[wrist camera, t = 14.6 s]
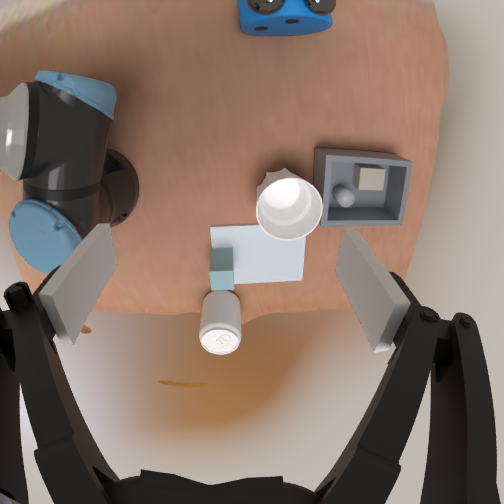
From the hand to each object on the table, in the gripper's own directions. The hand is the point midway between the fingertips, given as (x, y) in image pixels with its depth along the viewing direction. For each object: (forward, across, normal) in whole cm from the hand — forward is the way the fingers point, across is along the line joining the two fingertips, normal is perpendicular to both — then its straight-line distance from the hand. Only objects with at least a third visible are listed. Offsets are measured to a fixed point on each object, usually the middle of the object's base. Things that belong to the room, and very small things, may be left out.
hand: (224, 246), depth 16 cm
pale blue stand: (+36, +6, -21) cm, 42 cm away
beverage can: (+36, -2, -33) cm, 49 cm away
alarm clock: (+36, +6, +23) cm, 43 cm away
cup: (+36, +9, -8) cm, 38 cm away
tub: (+36, +22, -5) cm, 42 cm away
